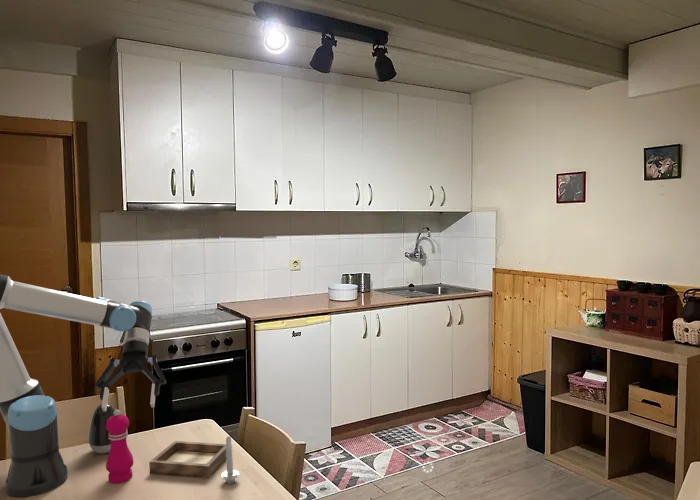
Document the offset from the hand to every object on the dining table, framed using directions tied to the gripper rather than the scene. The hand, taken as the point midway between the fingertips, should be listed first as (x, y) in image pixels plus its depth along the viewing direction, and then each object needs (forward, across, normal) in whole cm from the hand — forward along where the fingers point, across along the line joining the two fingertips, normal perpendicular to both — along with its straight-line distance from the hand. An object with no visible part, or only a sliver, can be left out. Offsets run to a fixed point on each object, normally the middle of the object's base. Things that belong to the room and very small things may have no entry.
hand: (128, 407), depth 159 cm
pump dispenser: (+4, +10, -22) cm, 24 cm away
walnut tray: (+15, -18, -10) cm, 25 cm away
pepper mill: (+18, +1, -7) cm, 20 cm away
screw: (+25, -30, 0) cm, 39 cm away
